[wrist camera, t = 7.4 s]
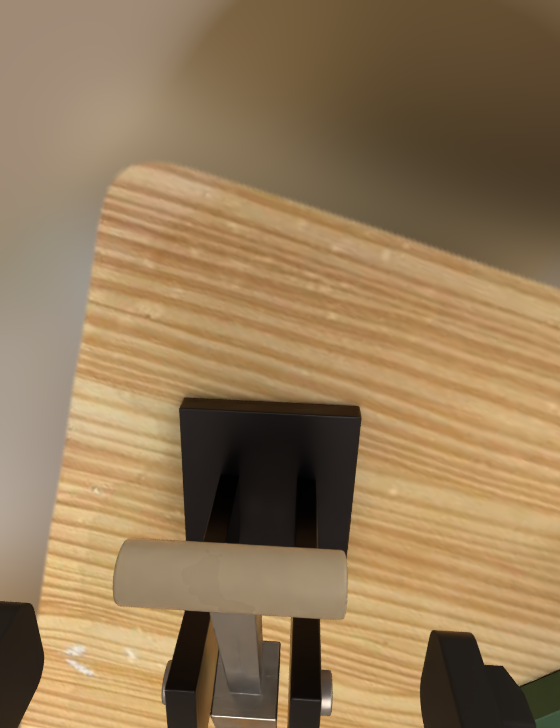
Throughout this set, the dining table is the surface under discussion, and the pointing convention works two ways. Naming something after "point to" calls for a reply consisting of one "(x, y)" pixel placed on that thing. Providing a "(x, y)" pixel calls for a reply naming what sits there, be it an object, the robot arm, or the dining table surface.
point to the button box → (544, 700)
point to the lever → (235, 607)
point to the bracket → (261, 526)
